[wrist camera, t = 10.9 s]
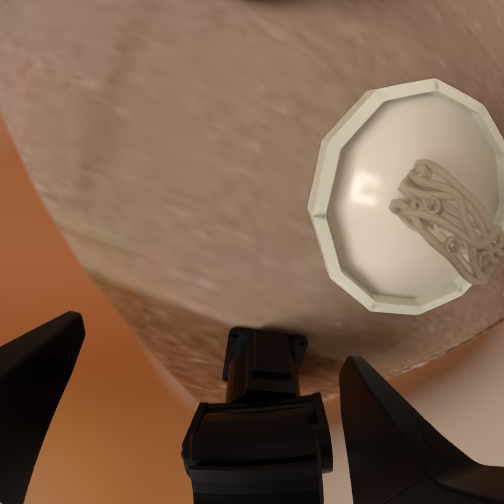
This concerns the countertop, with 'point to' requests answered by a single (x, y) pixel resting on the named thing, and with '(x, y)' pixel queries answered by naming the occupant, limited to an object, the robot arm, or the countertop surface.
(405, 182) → the bracelet
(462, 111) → the ring dish
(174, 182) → the countertop surface
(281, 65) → the countertop surface
